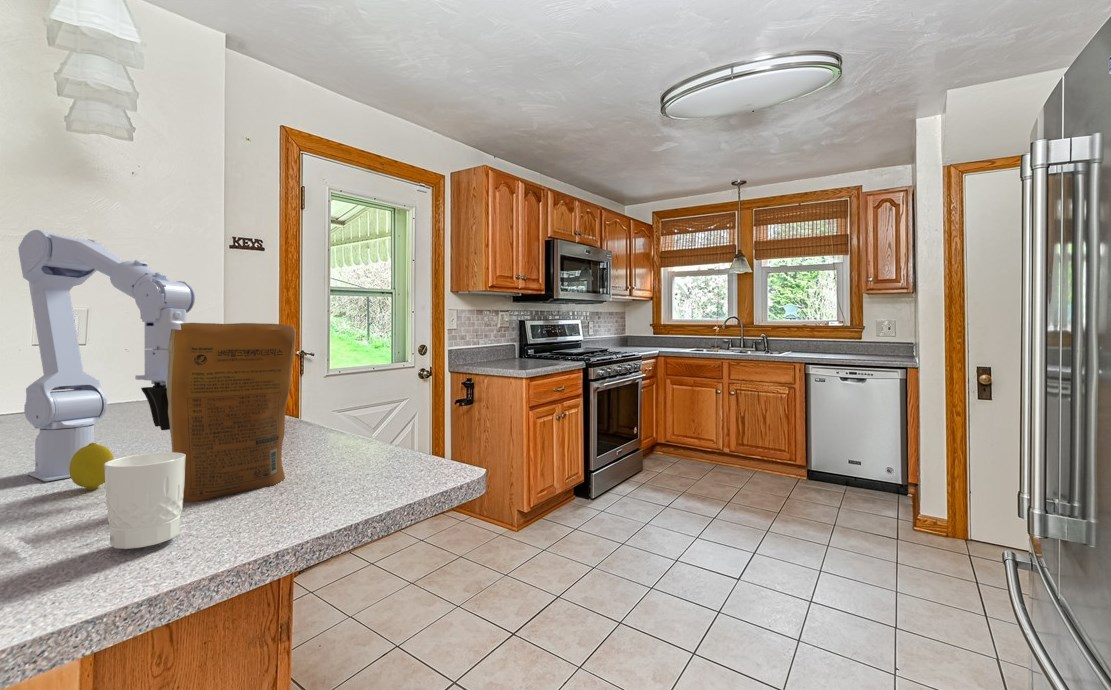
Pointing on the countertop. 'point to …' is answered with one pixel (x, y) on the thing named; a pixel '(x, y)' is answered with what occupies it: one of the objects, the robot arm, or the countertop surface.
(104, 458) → the lemon
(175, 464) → the white cup
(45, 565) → the countertop surface
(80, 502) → the countertop surface
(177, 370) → the pancake mix bag
